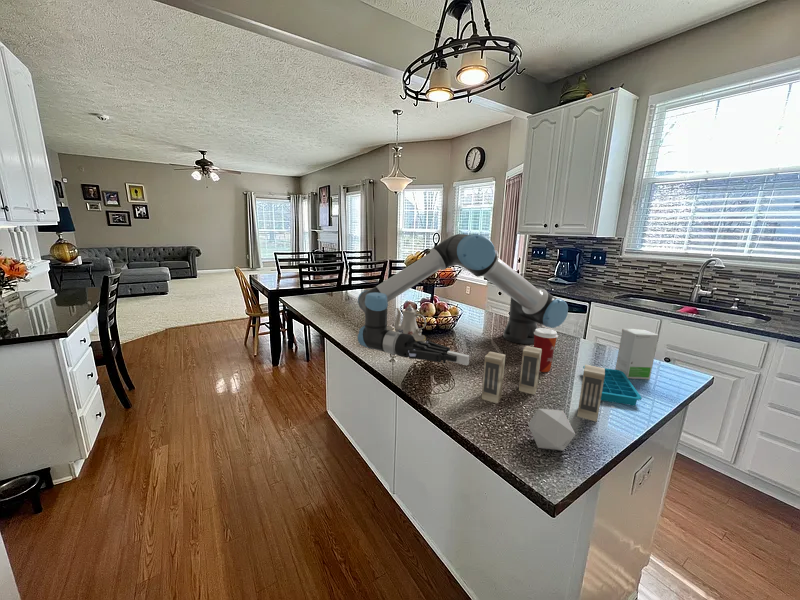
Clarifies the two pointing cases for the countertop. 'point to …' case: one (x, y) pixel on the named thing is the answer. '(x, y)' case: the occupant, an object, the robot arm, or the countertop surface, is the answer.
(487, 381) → the post
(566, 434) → the die
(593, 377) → the post
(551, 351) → the paper cup
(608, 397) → the ice cube tray
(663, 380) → the countertop surface
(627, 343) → the skincare box
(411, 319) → the chinaware
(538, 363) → the post
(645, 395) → the countertop surface
